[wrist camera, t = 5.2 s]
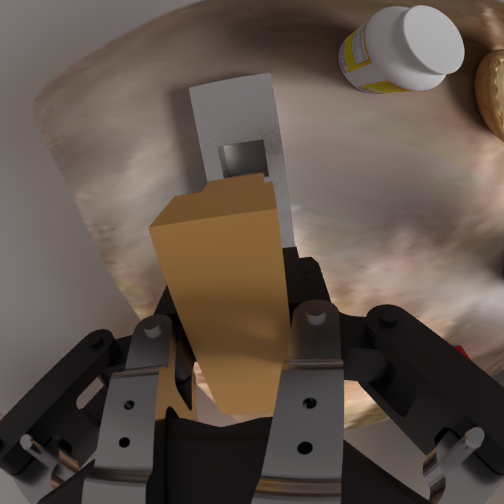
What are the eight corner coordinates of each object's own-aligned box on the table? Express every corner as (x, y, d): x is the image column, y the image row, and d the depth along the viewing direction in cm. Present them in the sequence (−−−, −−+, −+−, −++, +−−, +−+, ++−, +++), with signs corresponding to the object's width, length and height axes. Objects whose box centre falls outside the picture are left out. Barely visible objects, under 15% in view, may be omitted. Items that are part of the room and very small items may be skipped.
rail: (269, 76, 23) (270, 72, 21) (295, 263, 32) (298, 278, 30) (196, 89, 24) (188, 87, 21) (234, 271, 33) (231, 285, 30)
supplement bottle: (410, 73, 22) (490, 65, 10) (367, 106, 24) (435, 110, 12) (368, 22, 19) (430, -20, 8) (322, 54, 22) (364, 15, 10)
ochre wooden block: (268, 158, 12) (277, 208, 6) (286, 307, 16) (297, 408, 10) (199, 169, 12) (148, 227, 6) (232, 313, 16) (221, 413, 10)
